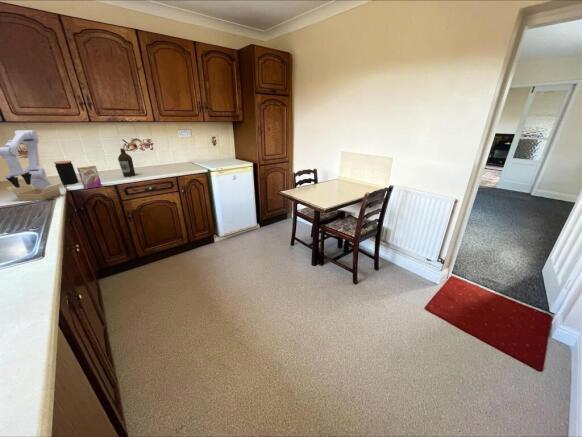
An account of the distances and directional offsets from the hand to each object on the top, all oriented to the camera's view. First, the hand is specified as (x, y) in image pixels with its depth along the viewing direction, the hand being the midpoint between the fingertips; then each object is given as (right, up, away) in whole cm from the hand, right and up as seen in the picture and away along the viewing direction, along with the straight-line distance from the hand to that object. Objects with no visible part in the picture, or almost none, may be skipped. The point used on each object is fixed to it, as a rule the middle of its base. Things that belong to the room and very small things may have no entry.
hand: (23, 186), depth 164 cm
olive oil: (+30, +18, +62) cm, 72 cm away
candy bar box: (+25, +2, +27) cm, 37 cm away
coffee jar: (-4, +7, +39) cm, 40 cm away
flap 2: (+18, -1, +1) cm, 18 cm away
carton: (+8, -8, +4) cm, 12 cm away
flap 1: (-2, -1, 0) cm, 3 cm away
